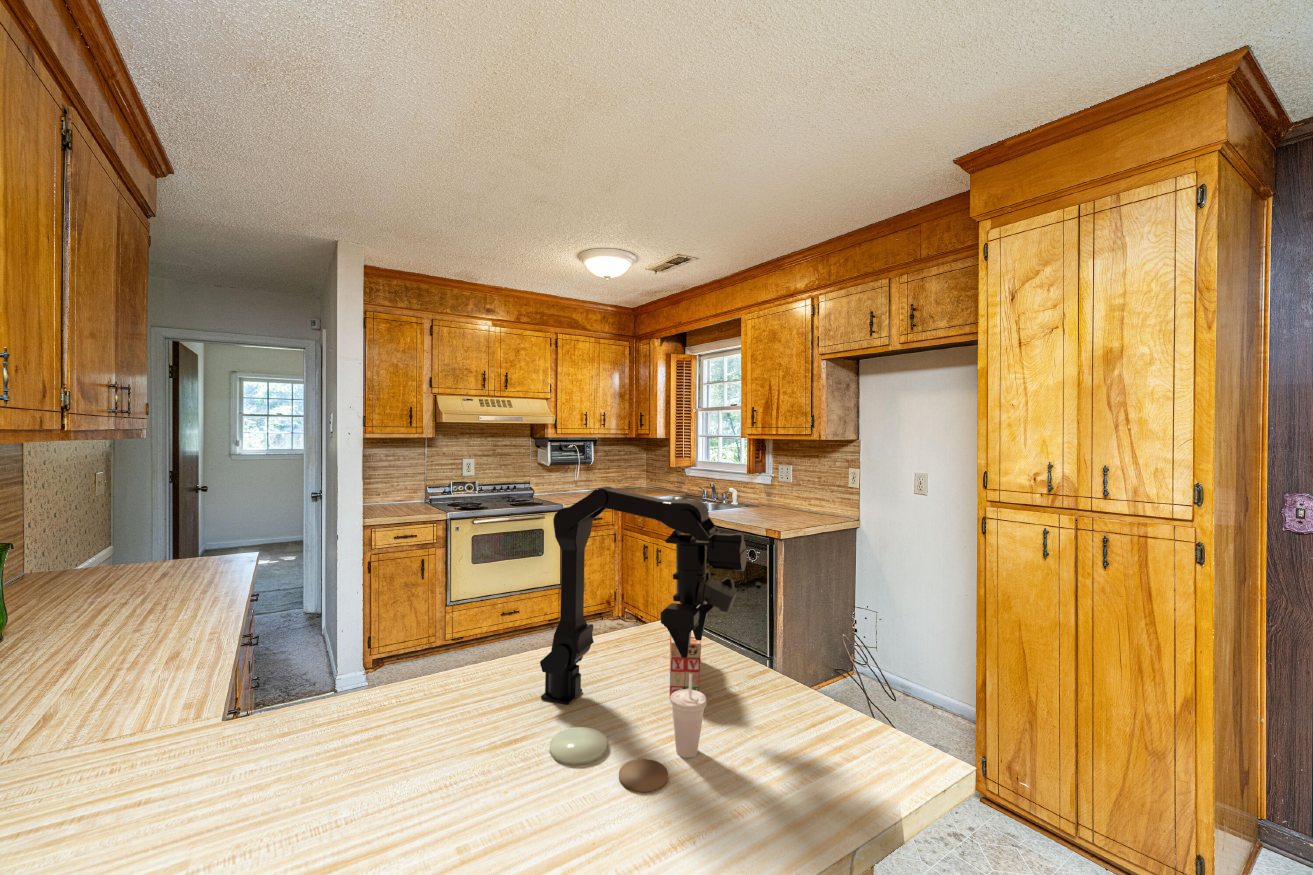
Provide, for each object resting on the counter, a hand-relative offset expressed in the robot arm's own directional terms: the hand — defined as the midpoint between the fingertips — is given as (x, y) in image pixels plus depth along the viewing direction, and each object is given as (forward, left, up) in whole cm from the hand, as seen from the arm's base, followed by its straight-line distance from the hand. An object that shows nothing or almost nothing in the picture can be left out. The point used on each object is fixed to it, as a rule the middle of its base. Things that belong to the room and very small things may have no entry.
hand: (691, 648), depth 110 cm
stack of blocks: (-7, +19, -15) cm, 25 cm away
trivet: (-2, -19, -15) cm, 24 cm away
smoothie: (+2, -9, -15) cm, 18 cm away
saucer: (-16, -15, -15) cm, 26 cm away
